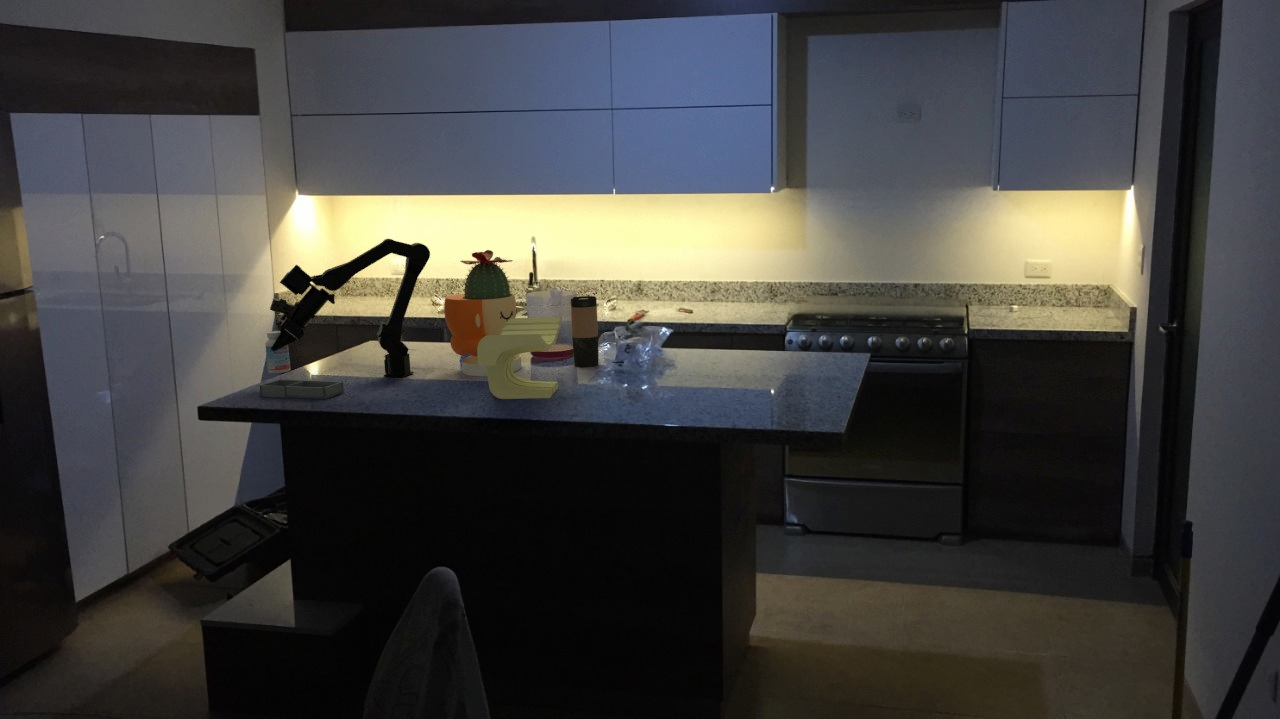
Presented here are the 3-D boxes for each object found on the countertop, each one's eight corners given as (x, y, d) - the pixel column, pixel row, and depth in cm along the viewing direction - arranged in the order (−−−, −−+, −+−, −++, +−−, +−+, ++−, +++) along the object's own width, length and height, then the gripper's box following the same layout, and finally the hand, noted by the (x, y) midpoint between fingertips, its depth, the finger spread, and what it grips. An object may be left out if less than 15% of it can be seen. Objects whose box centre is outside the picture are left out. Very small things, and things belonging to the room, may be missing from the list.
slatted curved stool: (506, 382, 302) (502, 318, 299) (563, 381, 301) (560, 317, 298) (480, 406, 273) (476, 335, 270) (544, 405, 271) (540, 334, 268)
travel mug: (604, 364, 324) (601, 297, 320) (582, 368, 319) (579, 299, 316) (590, 361, 330) (587, 295, 326) (568, 364, 326) (565, 297, 322)
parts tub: (343, 392, 296) (342, 381, 296) (325, 399, 288) (324, 387, 288) (280, 390, 303) (279, 379, 302) (260, 396, 295) (259, 385, 295)
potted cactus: (529, 362, 333) (523, 246, 326) (508, 376, 311) (501, 252, 305) (461, 362, 336) (454, 248, 330) (436, 376, 315) (427, 254, 309)
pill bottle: (278, 374, 304) (274, 333, 302) (263, 372, 307) (259, 333, 305) (295, 370, 309) (291, 330, 307) (280, 369, 312) (276, 329, 310)
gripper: (285, 284, 314) (248, 326, 312) (286, 290, 296) (247, 334, 295) (316, 309, 318) (280, 350, 316) (319, 316, 300) (281, 360, 299)
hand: (272, 348), depth 306 cm, fingers closed on pill bottle, 6 cm apart
